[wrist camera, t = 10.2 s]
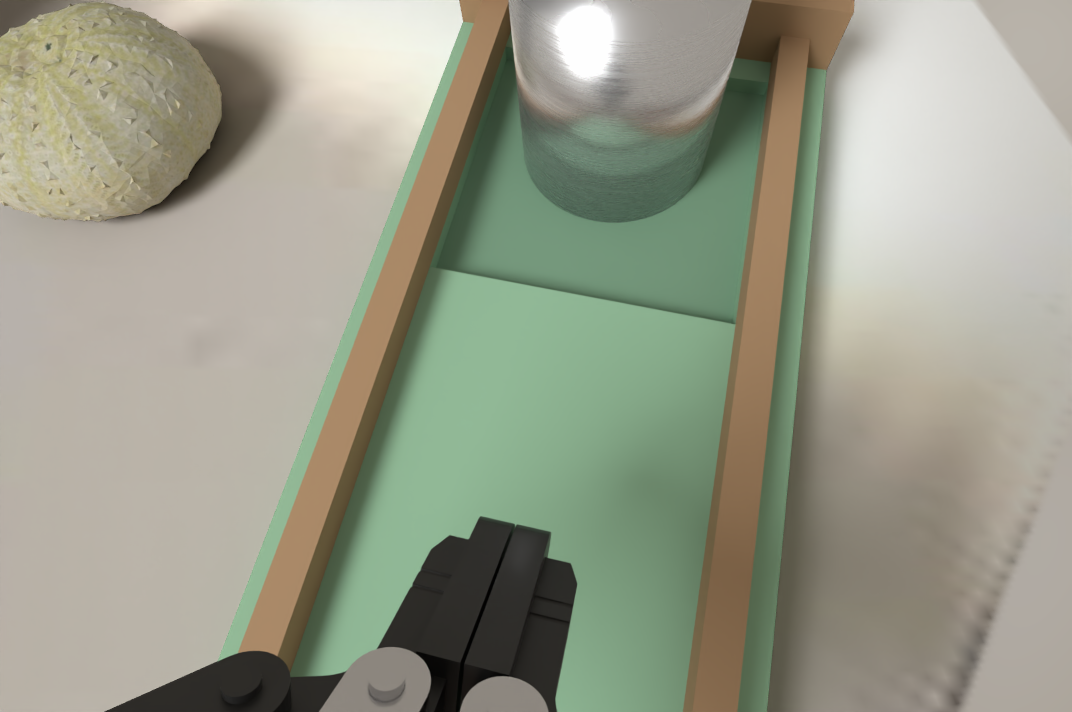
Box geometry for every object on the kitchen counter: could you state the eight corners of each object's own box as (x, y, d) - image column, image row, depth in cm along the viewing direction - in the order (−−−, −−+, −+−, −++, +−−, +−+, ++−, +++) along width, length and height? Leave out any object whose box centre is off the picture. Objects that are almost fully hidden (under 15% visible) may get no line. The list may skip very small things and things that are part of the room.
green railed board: (234, 707, 18) (136, 735, 14) (476, 45, 27) (460, -55, 23) (729, 857, 16) (783, 938, 12) (809, 91, 26) (855, -9, 21)
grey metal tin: (505, 207, 22) (476, 25, 16) (544, 69, 25) (534, -143, 18) (692, 236, 22) (750, 57, 15) (714, 90, 24) (773, -124, 17)
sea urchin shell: (-45, 65, 26) (-24, -114, 21) (170, 127, 31) (226, -3, 27) (-61, 247, 22) (-41, 83, 18) (183, 281, 28) (250, 163, 23)
